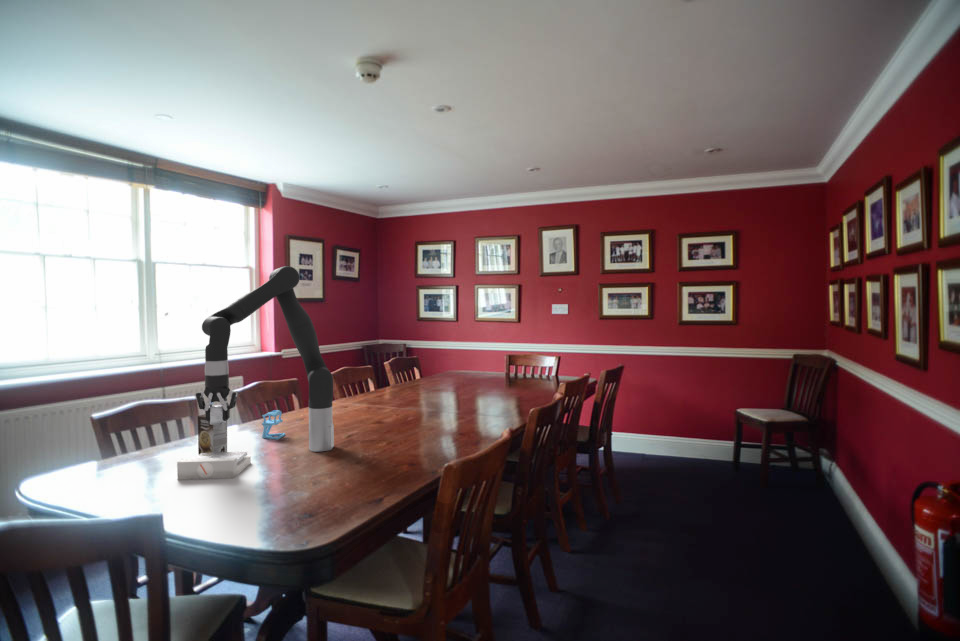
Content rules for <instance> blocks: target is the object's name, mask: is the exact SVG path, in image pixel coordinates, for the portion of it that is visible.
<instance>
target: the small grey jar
mask: <svg viewBox="0 0 960 641" xmlns="http://www.w3.org/2000/svg"><path fill="white" fill-rule="evenodd" d="M223 411H224V408H223V406H222V405H221V404H215V405H214V404H213V405H212V406H210V424H211V425H218V424H224V423H226V421H224V413H223Z"/></svg>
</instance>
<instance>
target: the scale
mask: <svg viewBox="0 0 960 641" xmlns="http://www.w3.org/2000/svg"><path fill="white" fill-rule="evenodd" d="M251 461H252V459H251V456H250V455H249V456H248V455H247V456H245V457H244V458H243V459H242V460H241V461H239V462H238V463H237V458H213V459H193V458H190V459H189V458H187V459H184V458H181V459H180V460H178V461H176V465H177V466H176V468H177V470H176V472H177V475H176V476H177V481H186V480H187V481H189V480H213V479H214V480H216V479H217V480H218V479H235V477H237V476H238V475H239V474H240V473H241V472H242V471H244V470H245V469H246V468H247V467H248V466H249V465H250V464H251Z"/></svg>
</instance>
